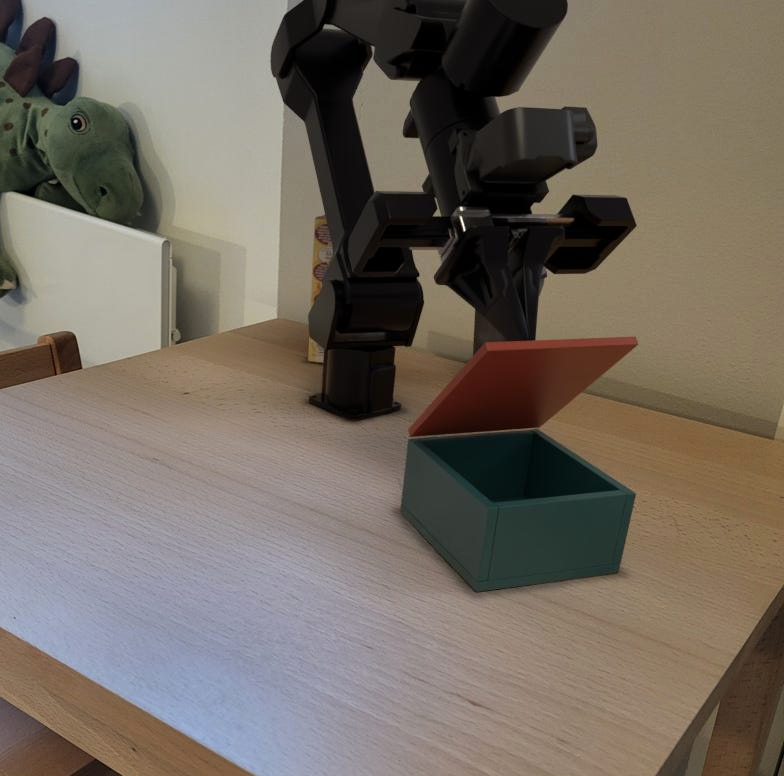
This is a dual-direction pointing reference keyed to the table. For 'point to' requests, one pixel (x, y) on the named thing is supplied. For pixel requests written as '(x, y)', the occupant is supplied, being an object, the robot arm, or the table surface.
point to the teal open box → (515, 508)
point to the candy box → (319, 274)
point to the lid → (519, 384)
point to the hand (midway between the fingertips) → (526, 346)
